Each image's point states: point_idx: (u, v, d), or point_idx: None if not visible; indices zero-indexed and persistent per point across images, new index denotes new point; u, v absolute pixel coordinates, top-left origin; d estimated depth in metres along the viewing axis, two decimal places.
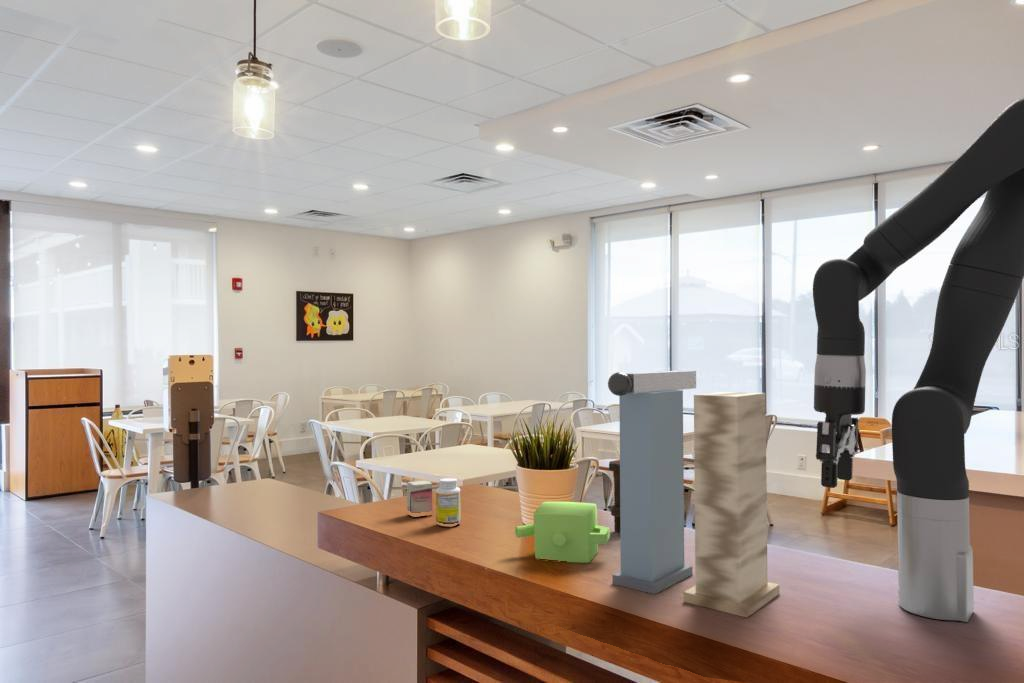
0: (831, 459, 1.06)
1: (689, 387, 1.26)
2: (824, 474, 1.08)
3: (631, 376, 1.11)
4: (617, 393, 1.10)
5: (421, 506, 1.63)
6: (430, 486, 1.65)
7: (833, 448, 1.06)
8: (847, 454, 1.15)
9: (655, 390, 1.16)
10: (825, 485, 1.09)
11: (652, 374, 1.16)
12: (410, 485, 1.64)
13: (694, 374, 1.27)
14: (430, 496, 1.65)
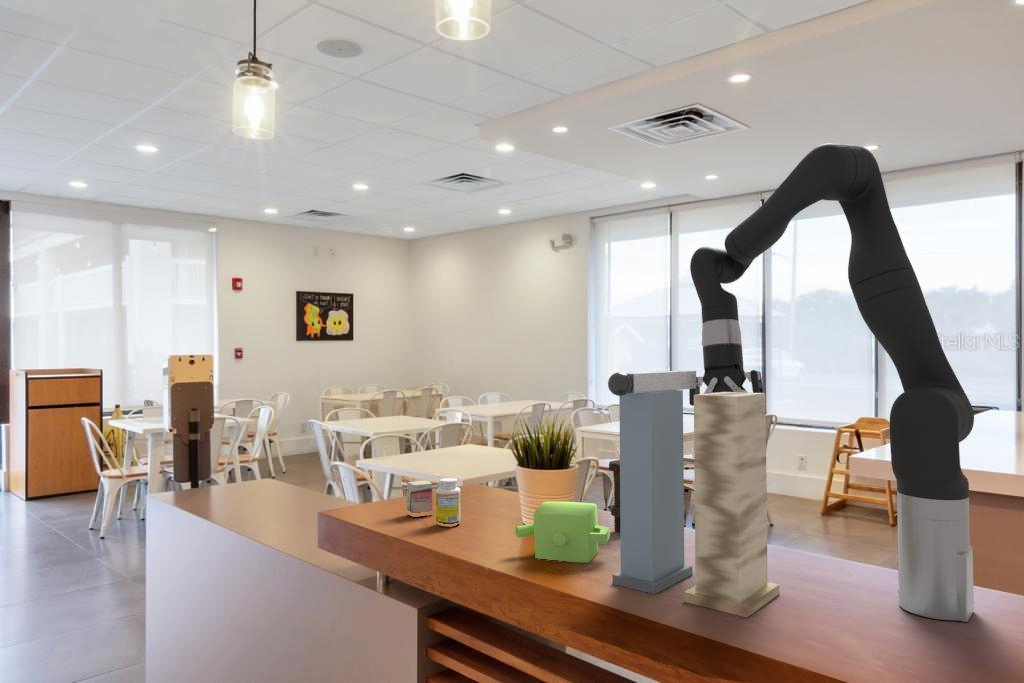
0: None
1: (689, 387, 1.26)
2: None
3: (631, 376, 1.11)
4: (617, 393, 1.10)
5: (421, 506, 1.63)
6: (430, 486, 1.65)
7: None
8: None
9: (655, 390, 1.16)
10: None
11: (652, 374, 1.16)
12: (410, 485, 1.64)
13: (694, 374, 1.27)
14: (430, 496, 1.65)
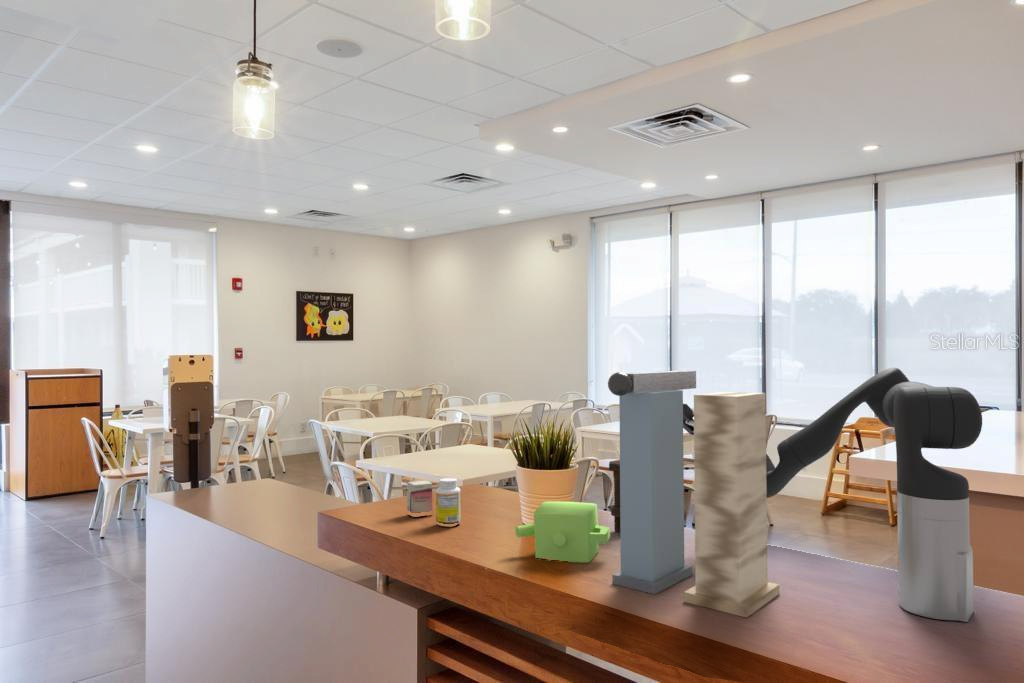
0: None
1: (689, 387, 1.26)
2: None
3: (631, 376, 1.11)
4: (617, 393, 1.10)
5: (421, 506, 1.63)
6: (430, 486, 1.65)
7: None
8: (691, 419, 1.38)
9: (655, 390, 1.16)
10: None
11: (652, 374, 1.16)
12: (410, 485, 1.64)
13: (694, 374, 1.27)
14: (430, 496, 1.65)
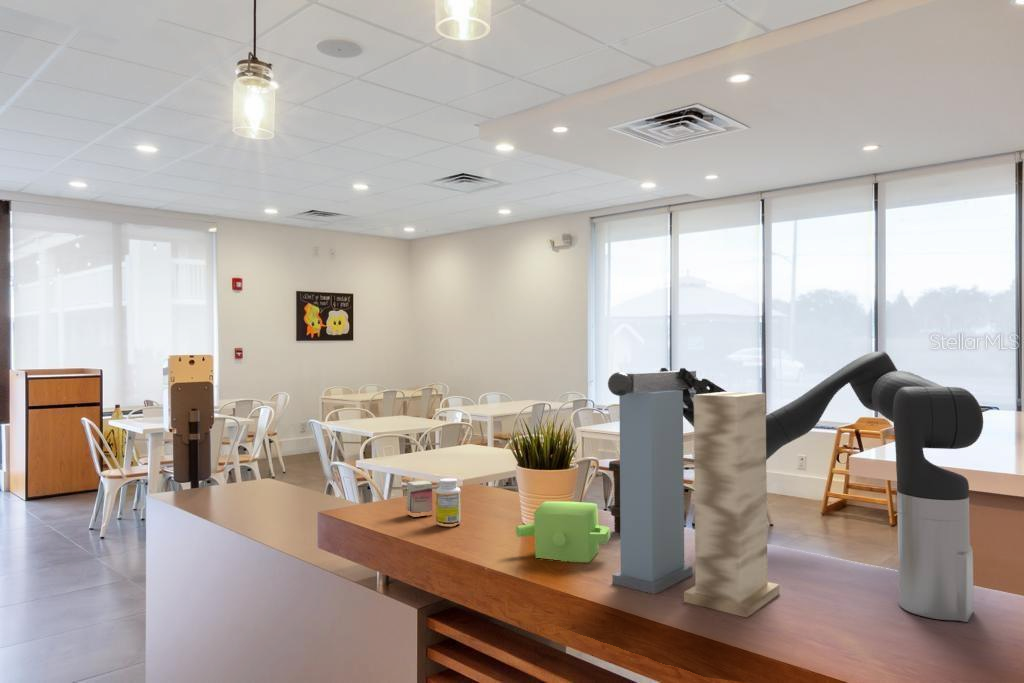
0: (704, 390, 1.23)
1: None
2: (691, 376, 1.23)
3: (631, 376, 1.11)
4: (617, 393, 1.10)
5: (421, 506, 1.63)
6: (430, 486, 1.65)
7: None
8: None
9: (655, 390, 1.16)
10: (683, 370, 1.23)
11: (652, 374, 1.16)
12: (410, 485, 1.64)
13: (694, 374, 1.27)
14: (430, 496, 1.65)
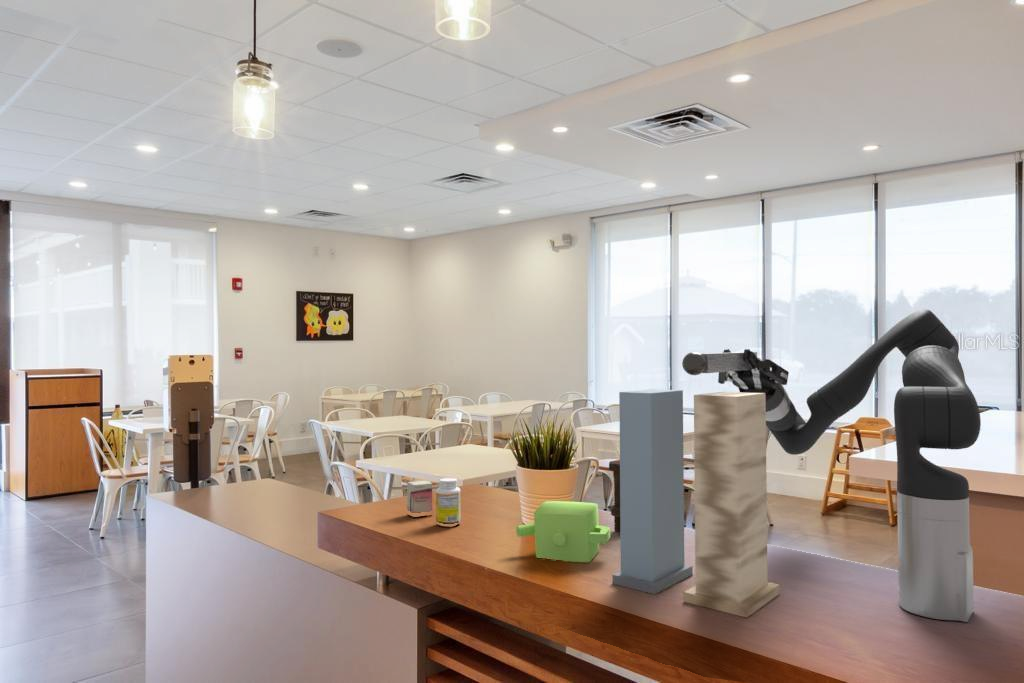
0: (768, 370, 1.26)
1: None
2: (755, 356, 1.26)
3: (705, 356, 1.13)
4: (692, 372, 1.12)
5: (421, 506, 1.63)
6: (430, 486, 1.65)
7: (772, 375, 1.27)
8: None
9: (725, 370, 1.19)
10: (748, 351, 1.25)
11: (722, 354, 1.18)
12: (410, 485, 1.64)
13: None
14: (430, 496, 1.65)
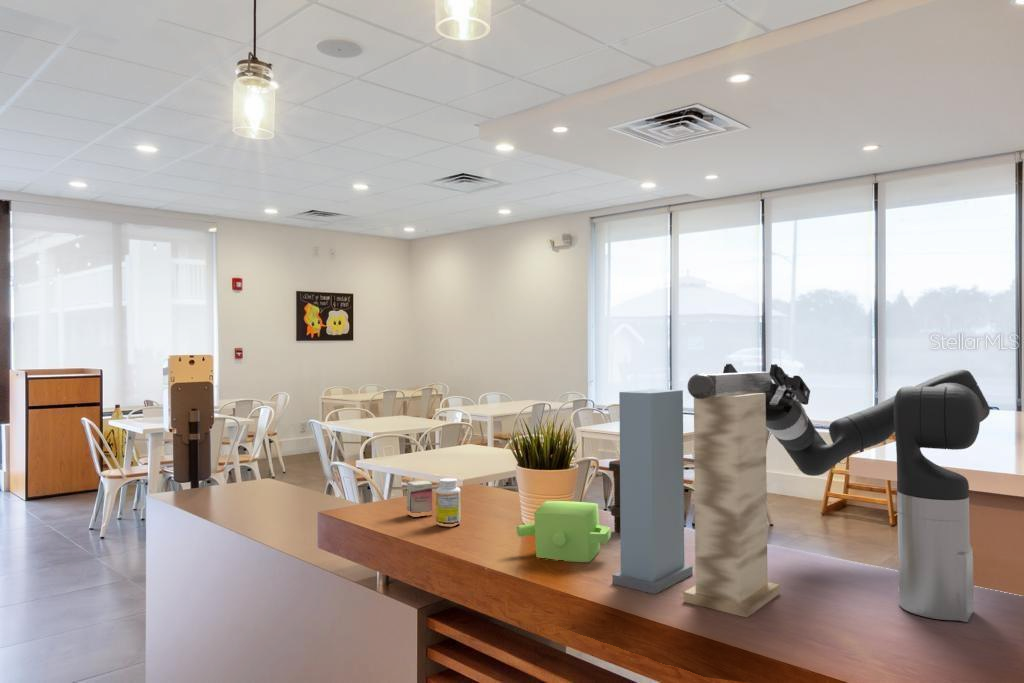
0: (797, 388, 1.13)
1: (766, 389, 1.17)
2: (783, 372, 1.13)
3: (713, 378, 1.02)
4: (699, 396, 1.01)
5: (421, 506, 1.63)
6: (430, 486, 1.65)
7: (798, 393, 1.15)
8: None
9: (735, 393, 1.07)
10: (775, 367, 1.13)
11: (732, 375, 1.06)
12: (410, 485, 1.64)
13: None
14: (430, 496, 1.65)
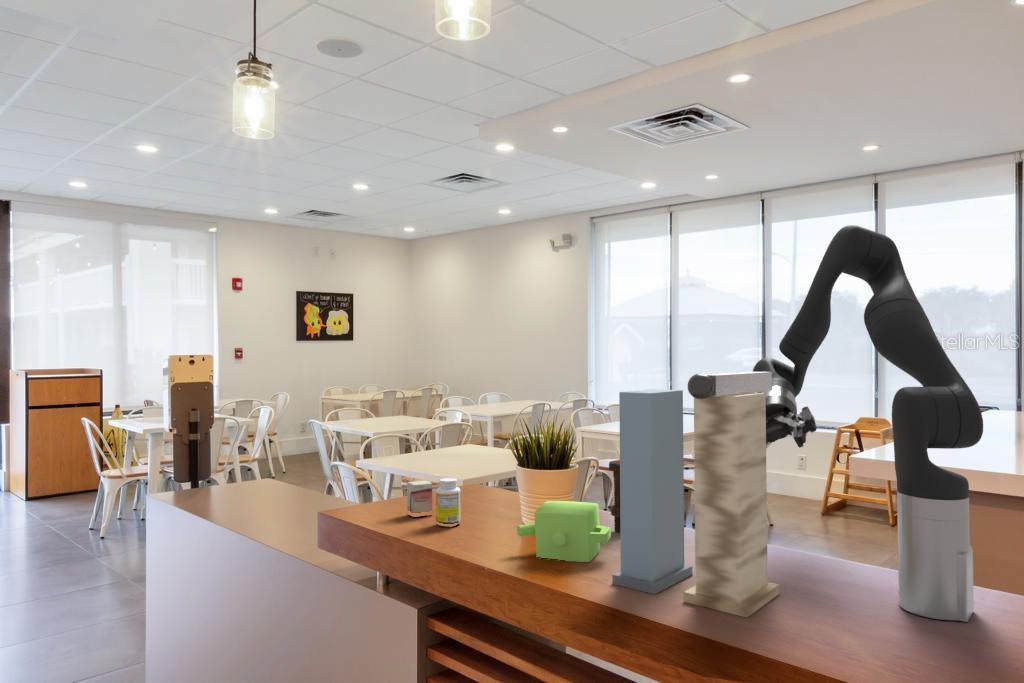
0: (816, 429, 1.23)
1: (766, 389, 1.17)
2: (803, 433, 1.21)
3: (713, 378, 1.02)
4: (699, 396, 1.01)
5: (421, 506, 1.63)
6: (430, 486, 1.65)
7: None
8: None
9: (735, 393, 1.07)
10: (798, 439, 1.20)
11: (732, 375, 1.06)
12: (410, 485, 1.64)
13: (770, 375, 1.18)
14: (430, 496, 1.65)
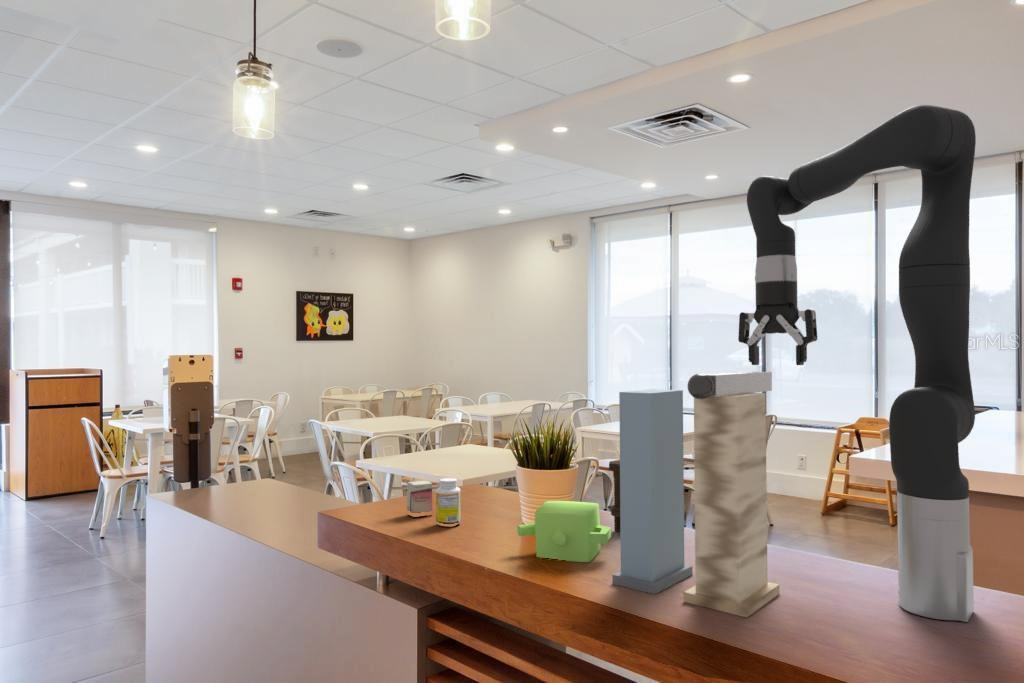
0: (816, 339, 1.29)
1: (766, 389, 1.17)
2: (805, 354, 1.29)
3: (713, 378, 1.02)
4: (699, 396, 1.01)
5: (421, 506, 1.63)
6: (430, 486, 1.65)
7: None
8: (756, 343, 1.36)
9: (735, 393, 1.07)
10: (800, 364, 1.29)
11: (732, 375, 1.06)
12: (410, 485, 1.64)
13: (770, 375, 1.18)
14: (430, 496, 1.65)
